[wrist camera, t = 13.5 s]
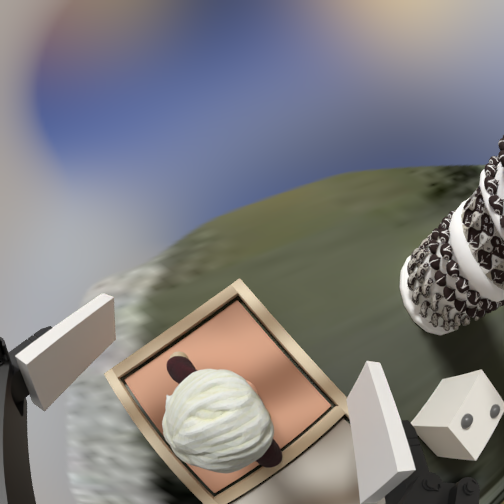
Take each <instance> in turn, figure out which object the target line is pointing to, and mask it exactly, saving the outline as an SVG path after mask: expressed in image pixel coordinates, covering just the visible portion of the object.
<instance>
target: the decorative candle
mask: <svg viewBox="0 0 504 504" xmlns="http://www.w3.org/2000/svg"><path fill="white" fill-rule="evenodd" d="M498 144H499V148H500V152H499V155H498V156H497V157H495V156H492V157H491V158H490V159H489V163H488V164H486V166H485V169H484V170H483V171H482V172H481V175H480V184H479V187H478V188H477V190H476V191H475V192H474V193H473V195H472V196H471V197H470V198H469V199H467V200H466V201H464V202H463V203H462V204H461V205H460V206H459V207H458V208H457V210H456V211H451V212H450V213H449V214H448V217H444V218H443V220H442V223H440V225H439V227H438V228H435V229H434V230H433V232H432V234H430V235H429V236H428V237H427V239H424V240H423V241H422V243H421V244H420V246H419V247H418V248H416V249H415V250H414V251H413V252H412V254H411V256H409V257H408V258H407V259H406V261H405V263H404V265H403V267H402V269H401V271H400V286H399V288H400V292H401V296H402V300H403V304H404V306H405V308H406V310H407V311H408V313H409V315H410V316H411V318H412V320H413V321H414V322H415V323H416V324H417V325H419V326H420V327H421V328H422V329H424V330H425V331H426V332H429V333H433V334H437V335H443V334H446V333H450V332H453V331H454V330H455V331H456V330H458V328H459V326H460V325H461V323H462V324H463V326H466V325H469V324H470V317H472V318H473V319H474V320H475V321H476V320H478V319H479V318H481V317H483V316H484V315H485V314H486V313H490V312H491V311H494V310H496V309H497V308H498V307H499V306H503V305H504V135H503V138H502V139H500V140H499V143H498Z"/></svg>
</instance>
